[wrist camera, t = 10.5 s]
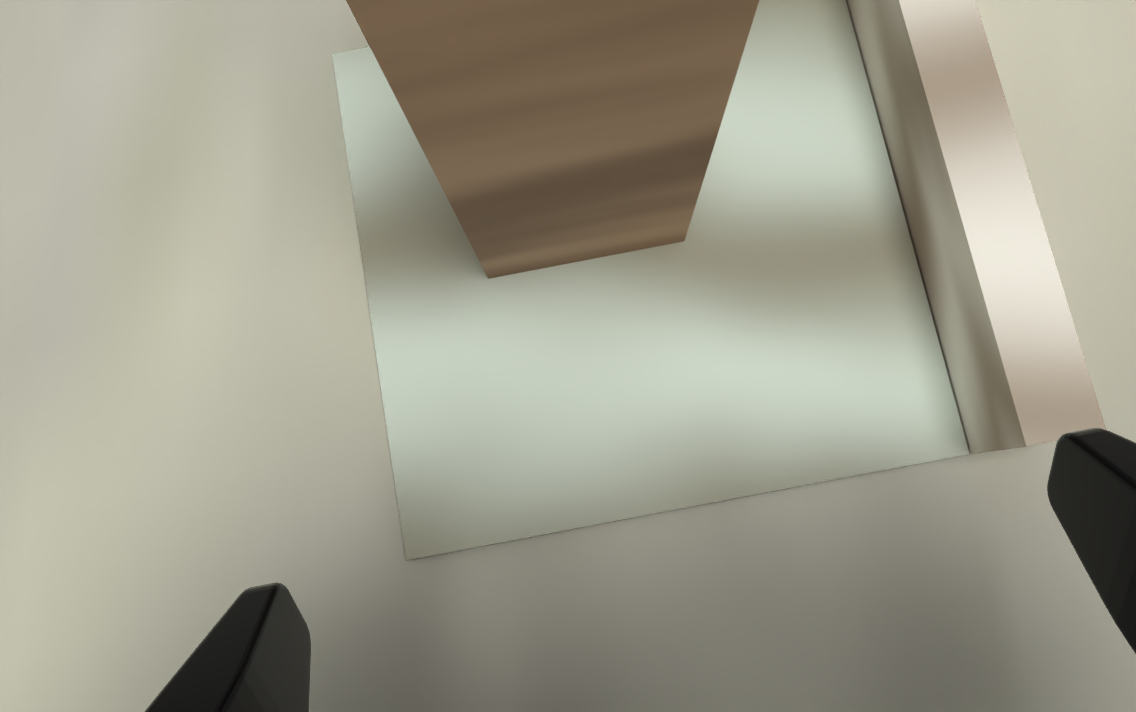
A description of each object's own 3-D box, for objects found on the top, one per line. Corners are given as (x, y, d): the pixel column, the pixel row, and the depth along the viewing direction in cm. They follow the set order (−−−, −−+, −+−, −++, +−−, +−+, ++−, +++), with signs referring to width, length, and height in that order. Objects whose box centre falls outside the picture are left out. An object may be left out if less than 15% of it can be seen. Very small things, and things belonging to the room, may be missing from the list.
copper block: (684, 241, 19) (825, -210, 7) (488, 278, 19) (291, -106, 7) (644, 60, 19) (708, -622, 8) (456, 97, 20) (233, -525, 8)
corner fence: (1036, 441, 18) (1106, 431, 15) (408, 559, 18) (377, 569, 15) (879, -105, 20) (917, -189, 18) (326, 3, 20) (288, -66, 18)
